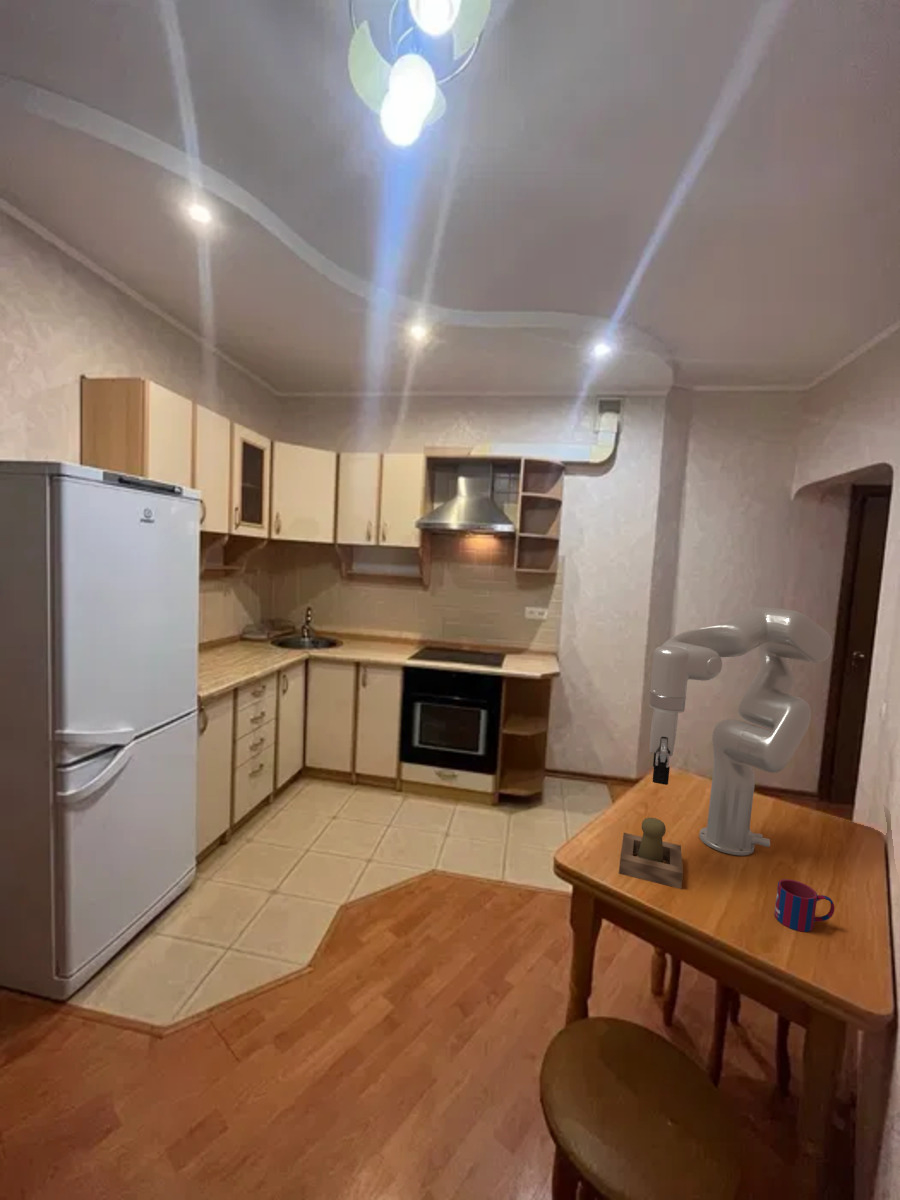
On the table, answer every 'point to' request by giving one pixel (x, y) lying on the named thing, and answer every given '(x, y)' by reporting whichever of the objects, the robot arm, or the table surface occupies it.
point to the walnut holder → (651, 863)
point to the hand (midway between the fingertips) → (660, 775)
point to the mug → (798, 905)
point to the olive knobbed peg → (652, 840)
